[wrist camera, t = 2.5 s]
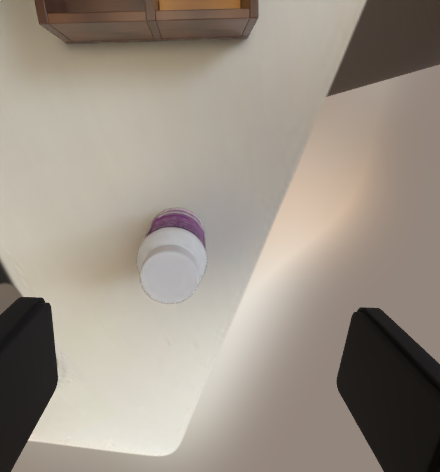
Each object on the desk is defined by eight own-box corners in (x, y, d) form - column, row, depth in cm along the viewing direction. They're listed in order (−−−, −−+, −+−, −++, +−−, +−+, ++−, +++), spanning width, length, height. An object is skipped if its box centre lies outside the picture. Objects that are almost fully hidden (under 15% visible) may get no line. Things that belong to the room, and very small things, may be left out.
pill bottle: (142, 213, 29) (117, 250, 20) (197, 201, 29) (198, 232, 20) (158, 265, 31) (142, 320, 22) (210, 253, 31) (216, 303, 22)
